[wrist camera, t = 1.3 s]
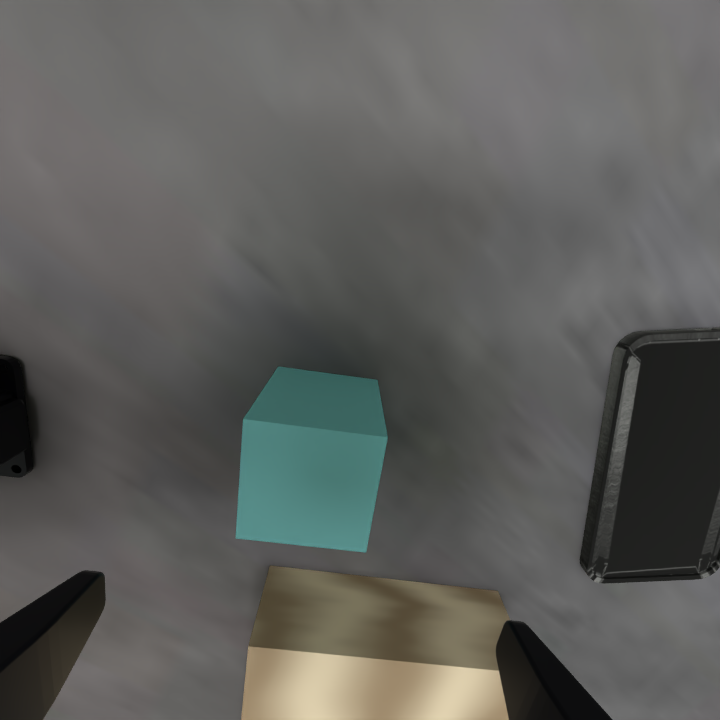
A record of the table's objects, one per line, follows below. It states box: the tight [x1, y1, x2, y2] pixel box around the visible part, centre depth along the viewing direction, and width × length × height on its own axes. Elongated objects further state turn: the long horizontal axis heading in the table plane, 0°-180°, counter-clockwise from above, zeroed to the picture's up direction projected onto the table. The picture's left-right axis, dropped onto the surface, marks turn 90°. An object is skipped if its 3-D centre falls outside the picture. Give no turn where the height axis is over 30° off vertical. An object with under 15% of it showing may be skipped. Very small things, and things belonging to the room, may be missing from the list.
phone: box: [580, 328, 720, 583], centre depth 20 cm, size 8×1×15 cm
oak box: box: [241, 566, 510, 720], centre depth 22 cm, size 14×14×5 cm
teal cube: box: [236, 366, 388, 552], centre depth 16 cm, size 5×5×6 cm
